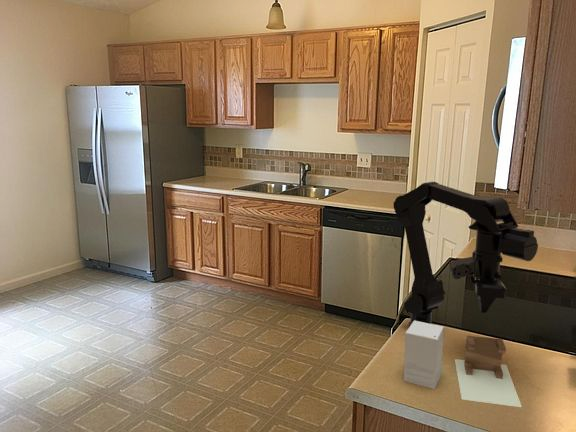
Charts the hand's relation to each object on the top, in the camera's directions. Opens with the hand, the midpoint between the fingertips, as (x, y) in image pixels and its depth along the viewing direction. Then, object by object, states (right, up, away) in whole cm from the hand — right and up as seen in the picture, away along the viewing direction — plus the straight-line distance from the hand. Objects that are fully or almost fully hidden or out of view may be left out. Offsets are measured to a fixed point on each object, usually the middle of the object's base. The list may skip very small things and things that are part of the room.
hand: (482, 310), depth 115 cm
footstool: (-2, -14, -4) cm, 15 cm away
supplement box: (-16, -15, -5) cm, 23 cm away
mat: (-3, -15, -7) cm, 17 cm away
